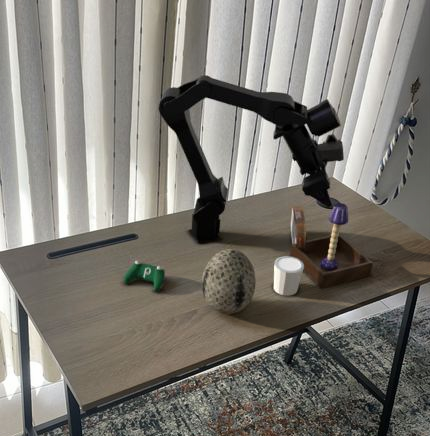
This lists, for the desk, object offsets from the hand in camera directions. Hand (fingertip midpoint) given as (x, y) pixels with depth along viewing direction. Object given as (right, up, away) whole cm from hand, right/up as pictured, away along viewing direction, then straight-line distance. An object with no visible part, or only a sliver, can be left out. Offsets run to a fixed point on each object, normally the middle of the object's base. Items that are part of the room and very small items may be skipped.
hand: (329, 197), depth 166 cm
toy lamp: (0, -17, +2) cm, 17 cm away
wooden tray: (0, -17, +2) cm, 17 cm away
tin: (-7, -10, +10) cm, 16 cm away
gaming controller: (-44, -21, -9) cm, 50 cm away
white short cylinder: (-12, -23, -7) cm, 27 cm away
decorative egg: (-26, -27, -15) cm, 40 cm away
